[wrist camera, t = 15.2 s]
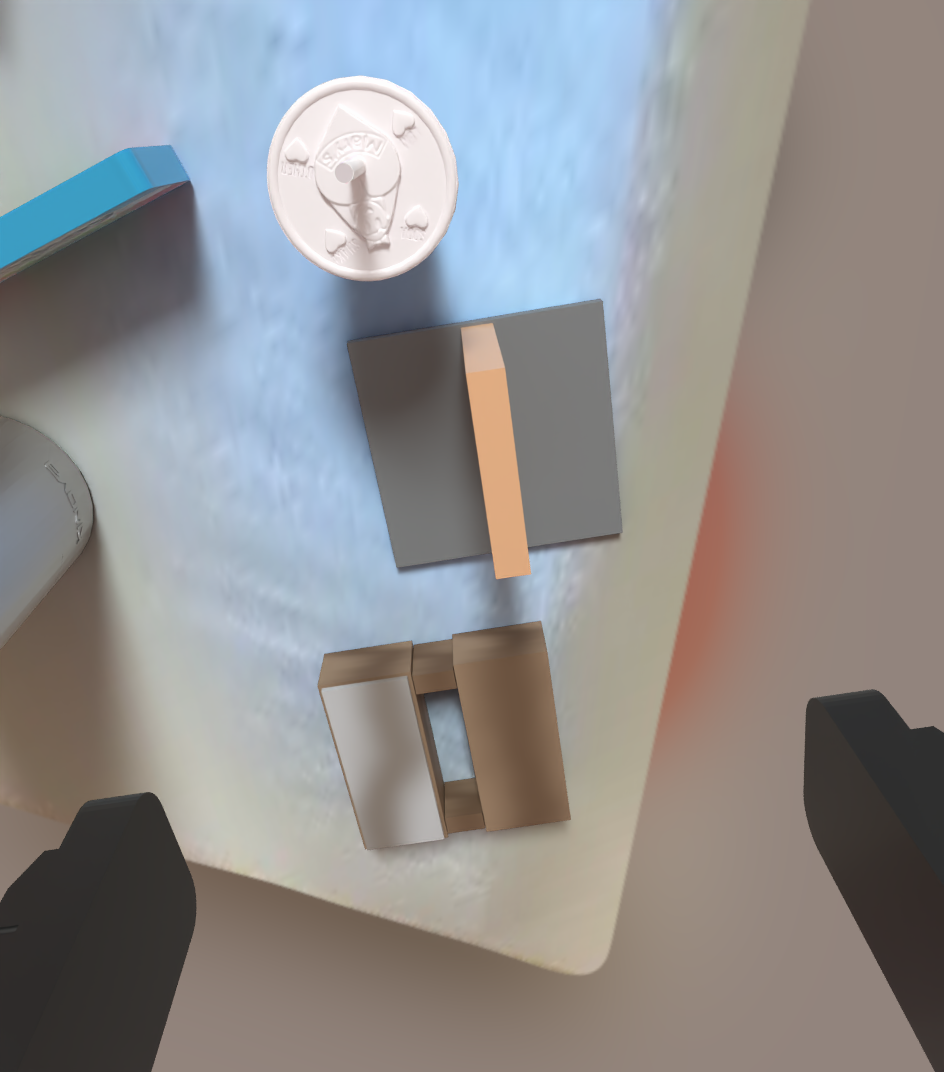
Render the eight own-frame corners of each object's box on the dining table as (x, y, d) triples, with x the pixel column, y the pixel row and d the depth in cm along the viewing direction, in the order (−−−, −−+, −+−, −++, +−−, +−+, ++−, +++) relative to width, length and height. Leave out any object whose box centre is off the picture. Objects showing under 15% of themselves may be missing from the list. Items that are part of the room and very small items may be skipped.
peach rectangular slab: (495, 579, 36) (465, 373, 32) (486, 503, 43) (460, 327, 39) (531, 574, 36) (505, 367, 32) (515, 499, 43) (492, 322, 39)
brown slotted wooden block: (368, 812, 53) (364, 853, 50) (324, 653, 47) (316, 689, 44) (563, 783, 52) (571, 823, 49) (540, 621, 47) (547, 654, 44)
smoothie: (432, 68, 35) (428, 36, 22) (469, 226, 38) (485, 277, 25) (285, 110, 35) (200, 101, 23) (333, 263, 38) (280, 331, 26)
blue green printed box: (173, 144, 36) (125, 148, 30) (193, 179, 37) (149, 188, 31) (-54, 269, 38) (-139, 293, 32) (-32, 299, 38) (-112, 328, 33)
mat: (397, 562, 45) (396, 567, 44) (348, 340, 40) (346, 343, 39) (620, 527, 45) (622, 532, 44) (600, 298, 39) (602, 301, 39)
